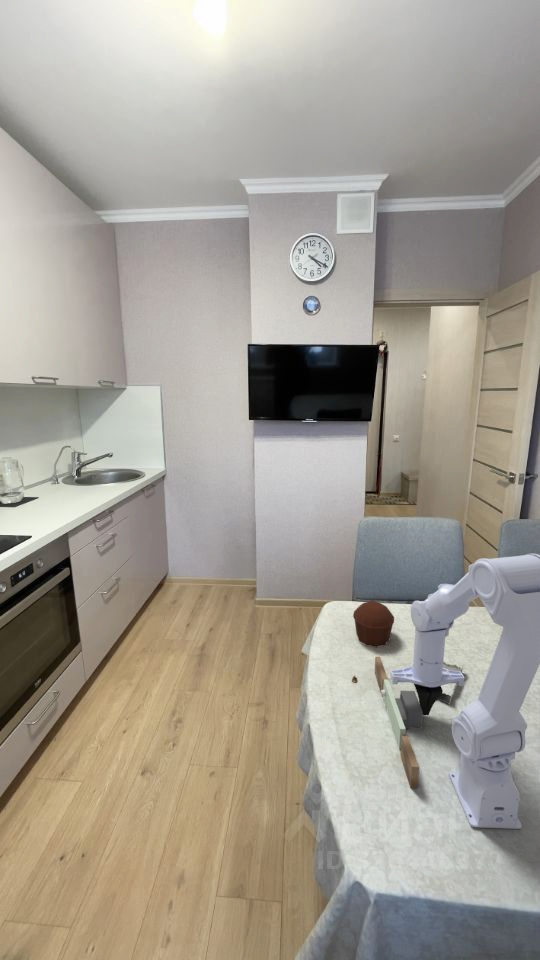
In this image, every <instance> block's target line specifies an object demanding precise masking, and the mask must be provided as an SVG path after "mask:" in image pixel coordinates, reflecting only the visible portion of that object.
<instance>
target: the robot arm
mask: <svg viewBox="0 0 540 960" xmlns="http://www.w3.org/2000/svg"><path fill="white" fill-rule="evenodd" d="M478 598H479V599H480V601H481V603H482V604H483V606H484V608H485V610H486V611H487V613H488V615H489V616H490V619H491V620H492V622H493V623H495V624H496V625H498V626H500V627H503V628H502V631H501V634H500V636H499V639H498V642H497V644H496V648H495V650H494V653H493V656H492V659H491V662H490V664H489V667H488V670H487V673H486V676H485V678H484V681H483V683H482V686H481V689H480V692H479V695H478V697H477V699H476V700H474V701H473V702H471V703H469V704H468V705H466V706H465V707H464V708H462V709H461V711H460V713H459V715H457V716H454V717H453V719H452V722H451V734H452V738H453V740H454V742H453V743H454V744H455V746H456V748H457V749H458V751H459V753H460V758H459V759H460V760H459V769H458V770H450V771H448V776H449V778H450V780H451V781H450V782H452V785H453V787H454V789H455V790H454V791H455V792H456V795H457V797H458V799H459V801H460V802H459V803H460V804H461V806H462V809H463V811H464V813H465V816H466V818H467V820H468V823H469V825H470V827H472V828H484V829H485V828H486V829H487V828H488V829H517V830H518V829H521V828H522V823H521V821H520V819H519V817H518V814H519V809H520V807H519V805H520V799H521V797H520V793H519V790H518V788H517V786H516V783H514V779H513V776H512V770H511V762H512V761H513V760H515V757H516V753H522V752H523V751H524V750H525V748H526V731H527V727H528V724H527V722H526V720H525V717H523V715H522V713H521V712H520V711H521V709H522V705H523V704H524V702H525V701H524V700H525V699H526V697H527V695H528V692H529V690H530V688H531V685H532V683H533V680H534V678H535V675H536V673H537V672H538V669H539V667H540V554H538V553H526V554H524V555H516V556H515V555H514V556H513V555H512V556H505V557H495V558H493V557H492V558H486V557H485V558H482V557H481V558H479V559H477V560H475V561H474V563H471V564H470V565H468V572H467V573H466V574H465V575H464V576H463V577H462V578H461V579H460V580H459V581H458V582H456V583H455V584H450V583H449V584H448V583H440V584H439V585H438V586H437V591H435V592H433V593H430V594H428V595H427V598H426V599H425V600H421V601H420V600H414V601H413V602H412V604H411V605H410V618H411V621H412V624H413V626H414V627H415V628H414V629H415V630H414V631H415V632H414V644H413V645H414V647H413V661H412V665H411V666H408V667H404V668H399V669H393V670H392V669H391V670H390V675H389V676H390V681H391V683H392V685H398V683H410V684H413V686H414V688H415V692H416V693H417V694H416V695H417V699H418V701H419V704H420V706H421V709H422V711H423V716H430V713H431V710H432V707H433V706H434V704H435V703H436V702H437V700H439V699H438V698H439V697H440V696H442V693H444V692H443V688H442V686H445V685H448V684H456V683H457V686H461V687H464V685H465V676H464V675H463V672H462V673H461V671H452V670H448V669H445V668H443V662H444V656H445V648H446V647H445V645H446V638H447V637H448V636H449V635H450V634H449V633H450V629H452V628H453V627H454V624H455V623H454V622H455V620H456V619H458V618H460V617H461V616H463V615H464V614H466V613H467V612H468V610H469V608H470V602H472V601H474V600H476V599H478Z"/></svg>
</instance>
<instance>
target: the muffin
mask: <svg viewBox="0 0 540 960" xmlns="http://www.w3.org/2000/svg"><path fill="white" fill-rule="evenodd" d="M352 617H353V619H354V625H355V626H354V627H355V633H356V634H355V635H356V636H357V639H358V642H360V643H362V644H364V645H365V646H368V647H375V648H379V647H382V646H386V645H387V643H388V642H389V641H390V637H391V633H392V629H393V626H394V623H395V616H394V614H393V613H392V612H391V611H390V609H389V608H388V607H387V606H386V605H384V604H383V603H381V602H378V601H376V600H373V601H366V602H363V603H361V604H360V605H359V606H358V607H357V608H356V609H355V610H354V611H353V615H352Z"/></svg>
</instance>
